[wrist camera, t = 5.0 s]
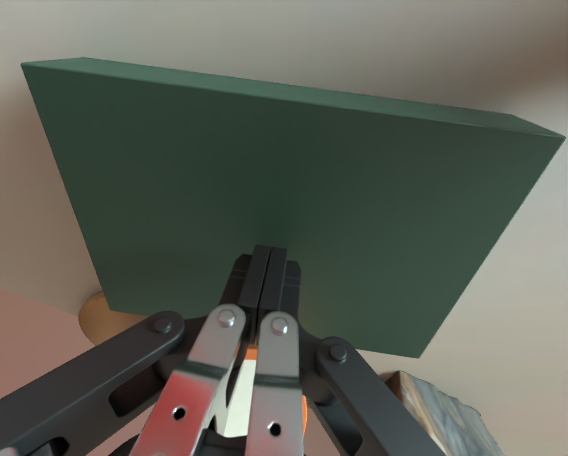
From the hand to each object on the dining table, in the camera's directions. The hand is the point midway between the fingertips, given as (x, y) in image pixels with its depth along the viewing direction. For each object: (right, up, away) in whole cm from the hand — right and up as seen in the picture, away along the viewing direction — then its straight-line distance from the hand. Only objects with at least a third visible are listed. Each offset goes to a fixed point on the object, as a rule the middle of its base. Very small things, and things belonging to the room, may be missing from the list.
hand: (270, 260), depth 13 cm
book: (0, +2, +4) cm, 5 cm away
